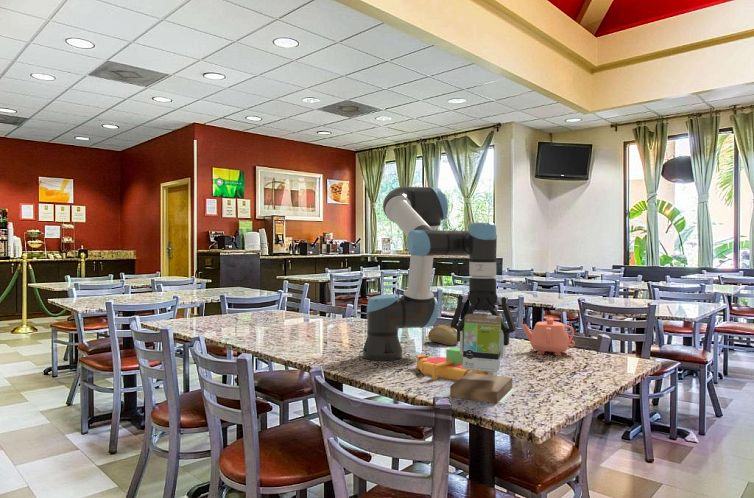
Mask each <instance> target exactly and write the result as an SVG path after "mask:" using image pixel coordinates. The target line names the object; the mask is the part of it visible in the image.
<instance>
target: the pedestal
mask: <svg viewBox="0 0 754 498" xmlns="http://www.w3.org/2000/svg"><path fill="white" fill-rule="evenodd" d="M449 387H450V396H449V397H450V398H457V399H463V400H471V401H479V402H483V403H491V404H499V403H498V402H499V401H500V400H501V399H502V398H503V397H504V396H505V395H506V394H507V393H508V392H509V391H510V390H511V388H513V377H511V376H510V377H509V376H501V375H497V376H493V375H485V374H476V373H468V374H467V375H465V376H464V377H462V378H461V379H459V380H458V381H457V380H455V382H453V384H451V385H449Z"/></svg>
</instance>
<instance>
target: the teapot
mask: <svg viewBox="0 0 754 498" xmlns="http://www.w3.org/2000/svg"><path fill="white" fill-rule="evenodd" d="M521 327H522V329H523V331H524V333H525V335H526V337H527V339H528V341H529V343H530V345H531V347H532V349H533V350H534V351H535V350H536V351H537V352H536V355H544V354H545V352H552V353H553V354H554V356H557V357H560V356H562V353H564V352H566V351H567V350H568V349H569V347H571V348H572V347H575V343H576V342H575V341H574V340H572V339H573V337H574V334H575V328H574V327H572V326H570V325H568V324H567V325H566V324H564V322H563V323H562V322H555V319H554V317H552V316H551V317H549V318H545V321H538V322H536V323H535V325H534V327H533V330H532V331H531V330H530V328H529V326H528V325H527V324H526V323H523V324H521ZM567 329H570V330H571V333H570V336H569V333H568V331H567ZM560 352H562V353H560Z"/></svg>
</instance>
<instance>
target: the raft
mask: <svg viewBox="0 0 754 498" xmlns="http://www.w3.org/2000/svg"><path fill="white" fill-rule="evenodd" d="M445 353H446V354H445V355H446V356H427V354H417V355H416V369H417V371H419V370H420V372H421V374H423V375H424V376H427V375H428V376H431V379H432V381H437V380H438V377H439V378H442V379H448V380H453V381H458V380H459V379H461V378H462V377H464V376H465V375H467V374H468V373H476V374H485V375H493V376H498V372H487V371H474V370H465V369H463V354H460V347H459V348H457V347H451V348H447V349H446V352H445Z"/></svg>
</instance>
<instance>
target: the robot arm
mask: <svg viewBox="0 0 754 498" xmlns="http://www.w3.org/2000/svg"><path fill="white" fill-rule="evenodd" d="M382 211H383V213H384V215H385V216H386V218H388V220H389V221H391V222H393V223H395V224H396V226H397V227H398V228H399V229H400V230H401V231H402V233H403V234H404V235H405V236H406V248H407V251H408V253H409V255H410V261H409V271H408V282H407V283H408V284H407V288H406V289H405V290H404V291H403V294H402V295H403V297H399V295H398V294H397V293H390V294H388V293H386V294H379V295H375V296H371V297H370V298H368V300H367V307H366V312H367V314H366V315H367V320H366V321H367V322H366V324H367V325H366V326H367V327H366V329H367V330H366V331H367V333H366V334H367V335H366V339H365V343H364V346H363V348H362V358H364V359H366V360H371V361H382V362H383V361H385V362H386V361H395V360H400V359H402V358H403V347H402V345H401V342H400V340H399V329H418V328H419V329H423V328H428V327H433V325H434V323H435V322H436V321H437V318H438V315H439V307H438V306H439V302H438V300H437V298H436V297H434V293H433V291H432V290H431V285H432V277H433V275H432V274H433V265H434V257H438V256H439V257H440V256H441V257H444V256H446V257H448V256H449V257H450V256H452V257H453V256H454V257H457V256H459V257H469V260H468V262H469V265H468V266H469V267H468V268H469V277H470V278H469V281H468V282H469V283H468V284H469V285H468V291H469V292H468V294H467V295H466V294H463V293H462V294H460V295H458V297H457V305H456V309H455V312H454V314H453V317H452V319H451V322H450V325H449V326H451V328H455V330H456V331H457V341H459V342H458V343H459V349H460V354H463V346H464V322H465V316H466V315H467V314H472V313H473V312H476V311H483V312H484V311H485V312H489V313H491V314H492V315H494V316H500V314H501V313H499V310H498V309H497V307H496V304H497V302H498V303H499V305H501V308H502V312H503V316H504V317H505V320H506V322H505V320H504V319H503V316H502V317H501V330H502V333H501V345H500V358H501V359H504V358H505V357H507V356H506V353H507V352H506V350H507V349H506V348H507V347H506V346H509V344H510V334H511V333H514V332H515V331H517V327H516V324H515V322H514V319H513V316H512V313H511V310H510V307H509V297H508V296H498V295H497V278H496V277H497V249H498V248H497V240H498V239H497V238H498V235H497V225H496V223H493V222H472V223H470V224H469V230H439V229H438V228H440V226H441V224H442V223H441V222H442V221H443V220H444V221H445V220H446V218H447V216H448V213H449V203H448V199H447V196H446V194H445V192H444V190H443V189H442V188H439V187H432V186H398V187H396V188H393V189H392V190H391V191H389V192H388V193H387V194H386V195H385V197H384V200H383V202H382ZM437 229H438V230H437ZM467 301H468V302H469V304H470V305H469V307H468V309H467V311H466V313H465V314H464V315H463V317H462V319H461V320H460V318H461V316H462V313H463V309H464V306H465V303H466V302H467ZM459 320H460V321H459Z"/></svg>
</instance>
